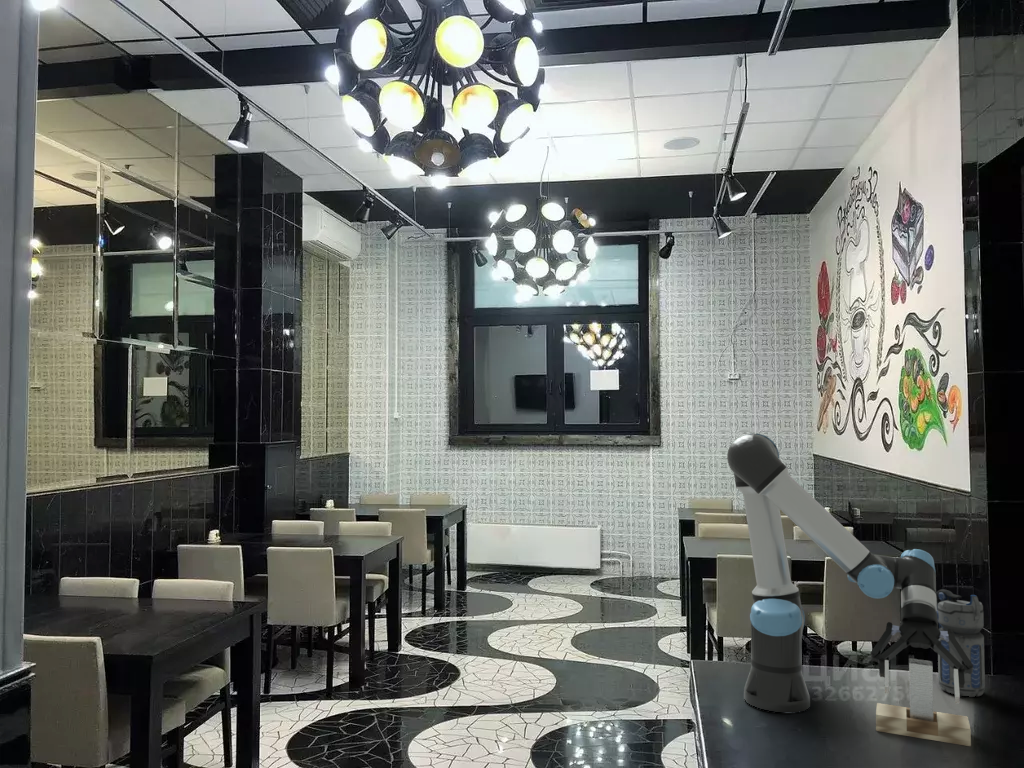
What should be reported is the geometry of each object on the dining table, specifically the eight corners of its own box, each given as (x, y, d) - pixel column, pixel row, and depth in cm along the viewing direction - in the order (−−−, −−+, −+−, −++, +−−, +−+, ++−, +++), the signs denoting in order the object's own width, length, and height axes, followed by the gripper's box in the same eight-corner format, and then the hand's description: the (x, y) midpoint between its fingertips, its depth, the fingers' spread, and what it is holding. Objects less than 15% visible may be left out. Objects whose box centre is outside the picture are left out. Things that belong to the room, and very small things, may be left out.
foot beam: (876, 730, 173) (875, 714, 173) (877, 718, 180) (876, 702, 180) (970, 746, 165) (970, 729, 165) (967, 732, 172) (967, 716, 172)
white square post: (910, 728, 172) (909, 663, 172) (910, 722, 175) (909, 658, 176) (933, 732, 170) (932, 666, 170) (932, 725, 173) (931, 661, 174)
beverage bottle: (955, 680, 206) (953, 584, 207) (997, 698, 193) (995, 595, 195) (922, 683, 204) (920, 586, 205) (962, 701, 191) (960, 597, 192)
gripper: (979, 625, 181) (987, 713, 167) (861, 613, 193) (859, 694, 178) (981, 607, 177) (989, 695, 163) (860, 595, 188) (858, 677, 174)
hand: (921, 695), depth 171 cm, fingers open, 13 cm apart
